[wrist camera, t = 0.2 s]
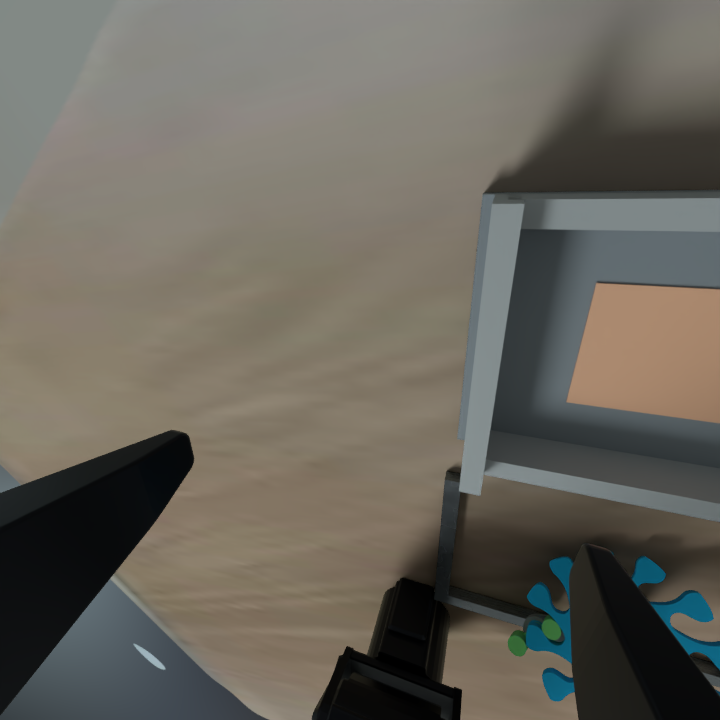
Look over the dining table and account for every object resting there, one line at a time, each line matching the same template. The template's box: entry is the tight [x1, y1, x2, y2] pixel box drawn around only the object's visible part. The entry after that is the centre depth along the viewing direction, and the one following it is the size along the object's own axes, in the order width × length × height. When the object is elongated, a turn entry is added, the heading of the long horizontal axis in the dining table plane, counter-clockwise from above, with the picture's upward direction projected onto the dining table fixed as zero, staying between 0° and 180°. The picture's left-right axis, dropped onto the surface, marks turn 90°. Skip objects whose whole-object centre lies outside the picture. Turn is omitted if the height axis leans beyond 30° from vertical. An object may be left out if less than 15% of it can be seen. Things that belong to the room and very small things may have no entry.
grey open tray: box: [457, 190, 720, 522], centre depth 15 cm, size 13×18×5 cm
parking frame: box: [434, 471, 720, 687], centre depth 24 cm, size 12×19×1 cm, turn 92°
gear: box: [508, 550, 720, 701], centre depth 23 cm, size 11×6×10 cm
